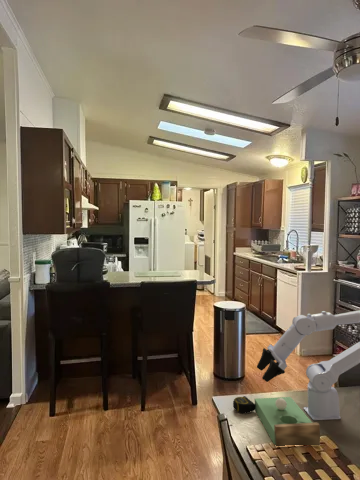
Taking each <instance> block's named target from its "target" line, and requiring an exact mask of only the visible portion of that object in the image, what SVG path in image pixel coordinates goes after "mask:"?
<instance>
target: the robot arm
mask: <svg viewBox="0 0 360 480" xmlns="http://www.w3.org/2000/svg"><path fill="white" fill-rule="evenodd" d="M359 323H360V309H359V310H353V311H347V312H343V313H339V314H338V313H337V314H332V313H331V312H330V311H329V312H327V311H325V310H323V311H321V312H320V313H315V314H314V313H313V314H311V313H307V315H304V314H299V315H297V316H295V317H293V318H292V324H290V326H289V327H288V328H287V330H286V331H285V332H284V333H283V334H282V335H281V336H280V338H279V339H278V340H277V342H275V344H274V345H272V344H269V345H267V347H266V348H264V347H263V349H262V351H261V352H262V353H261V355H260V356H261V357H260V358H259V361H258V362H257V365H256V368H257V369H258V370H260V371H261V372H262V371H263V370H264V369H266V368H267V369H266V370H265V372H264V374H263V375H262V378H261V379H262V380H263V381H265V382H266V383H268V382H270V381H272V379H275V377H278V376H280V375H284V374H285V373H286V370H285V369H287V367H288V365H287V362H286V361H287V359H288V358H289V356H290V355H291V354H292V353H293V351H294V350H295V349H297V347H298V345H299V344H300V343H301V342H302V340H303V339H304V338H305V337H307V336H310V335H312V333H313V332H314V333H316V332H322V331H323V332H324V331H329V330H334V329H335V328H336V327H337V325H338V326H339V325H349V324H350V325H351V324H359ZM359 364H360V341H358V342H357V343H355V344H354V345H352V346H349V348H347V349H345V350H344V351H342V352H340V353H339V354H337V355H336V356H334V357H332V358H331V359H329V360H322V361H320V362H318V363H312V364H310V365H308V366H307V368H306V370H305V374H306V377H307V379H308V380H309V381H308V383H307V406H304V407H303V410H304V411H305V413H306V414H307V415H308V416H309V418H311V420H313V421H323V420H324V421H326V420H327V421H329V420H340V419H342V418H341V416H340V414H341V413H340V396H339V393H338V391H337V389H336V388H335V387H333V385H334V384H336V383H337V382H338V380H339V377H340V375H342V374H343V373H345V372H347V371H349V370H351V369H352V368H353V367H356V366H357V365H359Z"/></svg>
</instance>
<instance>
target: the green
mask: <svg viewBox="0 0 360 480" xmlns="http://www.w3.org/2000/svg"><path fill="white" fill-rule="evenodd" d="M278 398H283V399H284V400H285V401H286V403H287V407H286V409H284V410H279V409H278V408H277V407H276V404H275V403H276V400H277V399H278ZM254 404H255V406H256V409H255V410H254V411H255V413H256V414H257V417H258V418H259V419H260V421H261V423H262V425H263V427H264V428H265V431H266V433H267V434H268V436H269V438H270V440H271V441H272V443H273V445H274V444H275V445H276V434H275V433H274V425H278V424H297V423H313V421H312V419H310V417H308V416H307V415H306V412H304V411H303V409H301V407H300V406H299V405H298V404H297V402H296V401H295V400H294V399H293V398H292V397H291V396H281V397H260V398H258V397H257V398H254ZM292 434H293V433H292ZM287 435H288V434H287ZM302 435H303V434H302ZM280 436H281V435H280ZM285 436H286V435H285ZM302 437H303V436H302ZM280 438H281V437H280ZM283 438H284V436H283ZM283 438H282V440H283ZM285 438H286V437H285ZM317 438H318V437H317ZM287 439H288V438H287ZM277 440H278V436H277ZM288 440H289V439H288ZM290 440H291V439H290ZM295 440H296V439H295ZM295 440H294V441H295ZM300 440H301V439H300ZM302 440H303V439H302ZM310 440H311V439H310ZM312 440H313V439H312ZM307 441H308V440H307ZM315 441H316V440H315ZM317 441H318V440H317ZM277 442H278V441H277ZM282 442H283V441H282ZM282 442H281V443H282ZM285 442H286V441H285ZM290 442H291V441H290ZM302 442H303V441H302ZM308 442H309V441H308ZM308 442H307V443H308ZM312 442H313V441H312ZM283 443H284V442H283ZM297 443H298V442H297ZM310 443H311V442H310ZM315 443H316V442H315ZM317 443H319V442H317ZM317 443H316V444H317ZM278 444H279V443H278ZM313 444H314V443H313ZM275 445H274V446H275ZM297 445H298V444H297ZM317 445H318V444H317ZM277 446H278V445H277Z"/></svg>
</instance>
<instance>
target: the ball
mask: <svg viewBox="0 0 360 480" xmlns="http://www.w3.org/2000/svg"><path fill="white" fill-rule="evenodd" d="M277 398H278V397H277ZM275 404H276V407H277V408H278V409H279V410H284V409H286V407H287V403H286V401H285V400H284V399H283V398H278V399H277V400H276V403H275Z"/></svg>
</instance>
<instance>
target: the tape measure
mask: <svg viewBox="0 0 360 480" xmlns="http://www.w3.org/2000/svg"><path fill="white" fill-rule="evenodd" d="M232 406H233V409H234V411H236V412H237V413H239V414H249V413H252V412H254V411H255V409H256V406H255V402H253V401H252V400H250V398H248V397H247V396H245V395H244V396H237V397H235V398H234V399H233V403H232Z"/></svg>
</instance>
